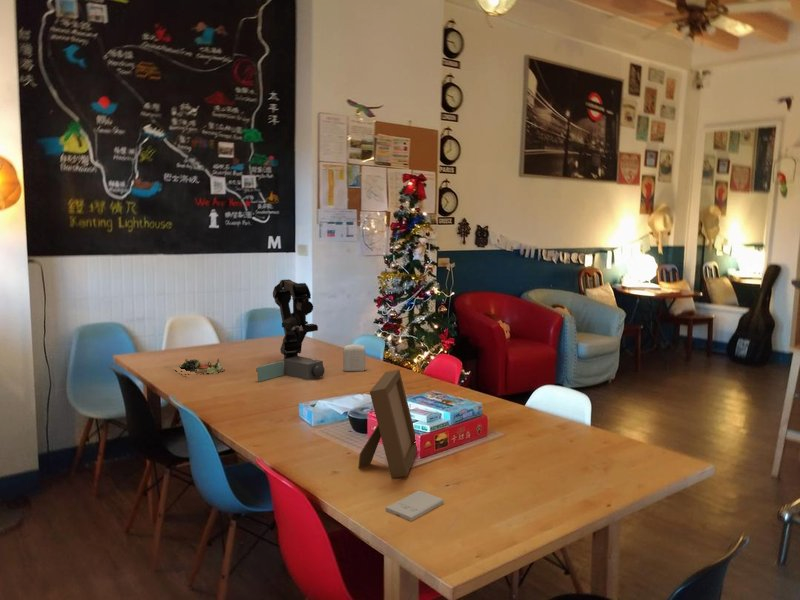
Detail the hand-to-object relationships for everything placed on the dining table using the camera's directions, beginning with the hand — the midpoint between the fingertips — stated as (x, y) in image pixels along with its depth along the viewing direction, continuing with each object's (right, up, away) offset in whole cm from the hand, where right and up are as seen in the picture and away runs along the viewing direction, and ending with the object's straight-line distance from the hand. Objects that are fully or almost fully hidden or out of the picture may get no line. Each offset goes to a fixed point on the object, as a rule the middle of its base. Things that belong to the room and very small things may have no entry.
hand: (299, 344), depth 287 cm
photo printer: (+25, -13, +4) cm, 28 cm away
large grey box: (+3, -14, -6) cm, 15 cm away
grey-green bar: (-11, -14, -10) cm, 21 cm away
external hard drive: (+49, -31, -133) cm, 145 cm away
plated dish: (-46, -13, +6) cm, 49 cm away
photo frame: (+42, -27, -105) cm, 117 cm away
